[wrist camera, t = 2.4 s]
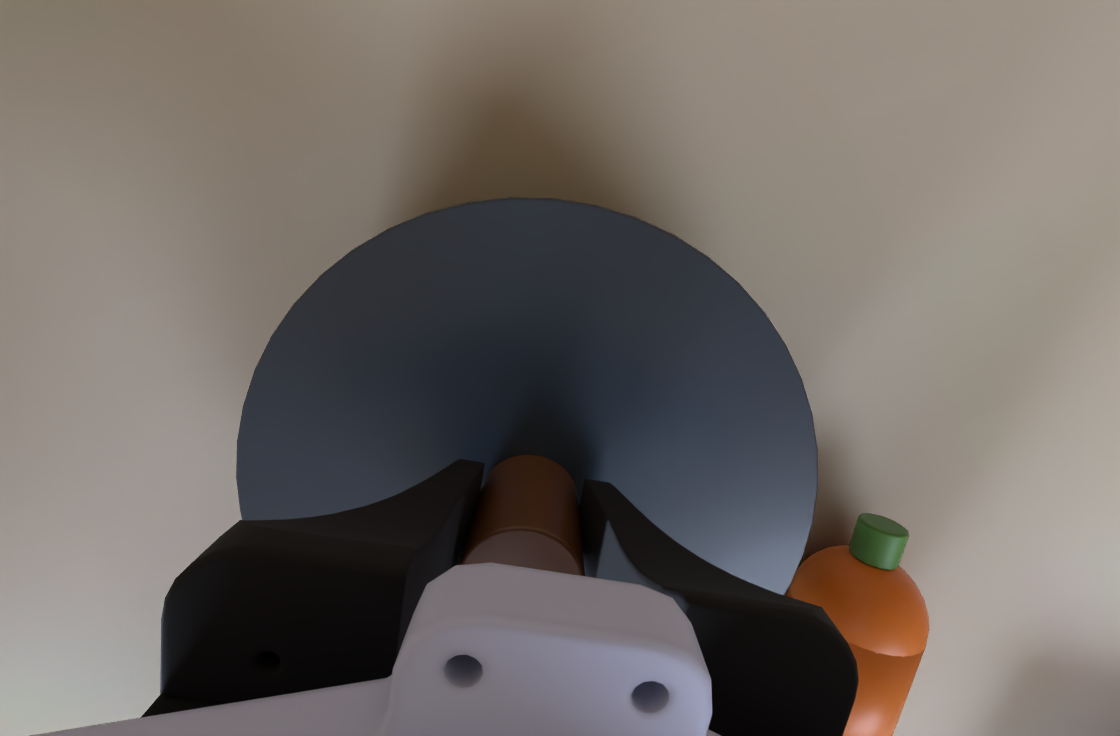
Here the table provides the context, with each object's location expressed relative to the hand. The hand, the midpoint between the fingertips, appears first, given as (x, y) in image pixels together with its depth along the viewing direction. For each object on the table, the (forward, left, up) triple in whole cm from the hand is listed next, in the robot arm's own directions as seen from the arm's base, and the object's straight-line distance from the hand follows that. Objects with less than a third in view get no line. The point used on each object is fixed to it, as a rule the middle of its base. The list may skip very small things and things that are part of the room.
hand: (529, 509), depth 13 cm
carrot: (-6, -11, -6) cm, 14 cm away
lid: (0, 0, -1) cm, 1 cm away
